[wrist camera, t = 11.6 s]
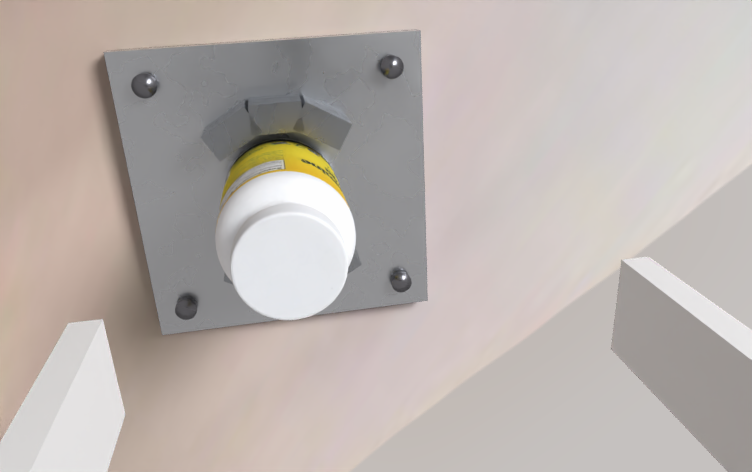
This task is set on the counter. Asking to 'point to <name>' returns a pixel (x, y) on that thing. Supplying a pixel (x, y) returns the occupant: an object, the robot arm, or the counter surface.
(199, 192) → the collar
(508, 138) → the counter surface
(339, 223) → the pill bottle
